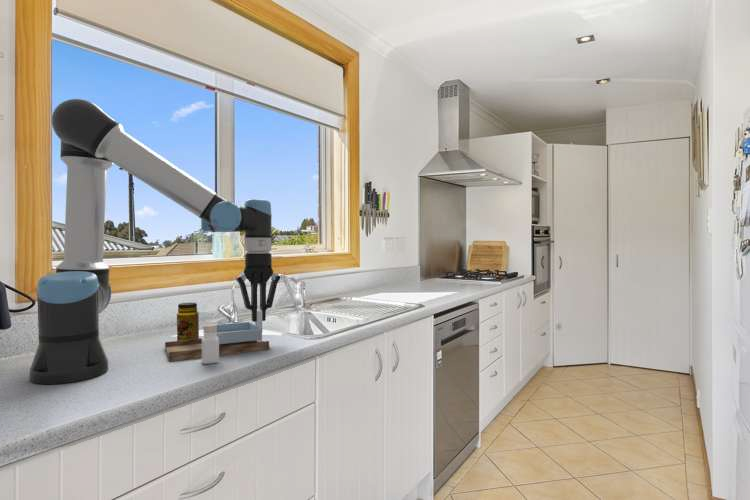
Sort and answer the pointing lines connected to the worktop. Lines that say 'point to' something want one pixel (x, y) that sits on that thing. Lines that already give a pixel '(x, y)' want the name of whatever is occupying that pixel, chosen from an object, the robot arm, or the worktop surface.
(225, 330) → the light blue tray
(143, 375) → the worktop surface
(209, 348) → the pepper shaker
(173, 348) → the wooden cutting board
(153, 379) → the worktop surface
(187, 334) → the condiment
